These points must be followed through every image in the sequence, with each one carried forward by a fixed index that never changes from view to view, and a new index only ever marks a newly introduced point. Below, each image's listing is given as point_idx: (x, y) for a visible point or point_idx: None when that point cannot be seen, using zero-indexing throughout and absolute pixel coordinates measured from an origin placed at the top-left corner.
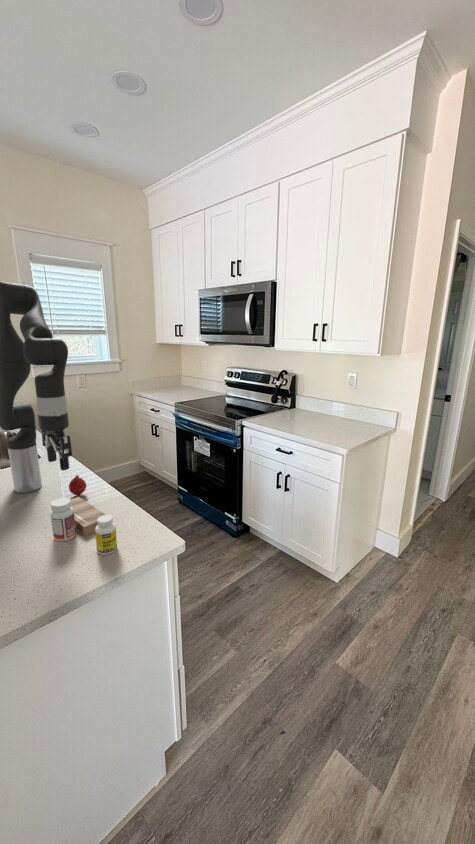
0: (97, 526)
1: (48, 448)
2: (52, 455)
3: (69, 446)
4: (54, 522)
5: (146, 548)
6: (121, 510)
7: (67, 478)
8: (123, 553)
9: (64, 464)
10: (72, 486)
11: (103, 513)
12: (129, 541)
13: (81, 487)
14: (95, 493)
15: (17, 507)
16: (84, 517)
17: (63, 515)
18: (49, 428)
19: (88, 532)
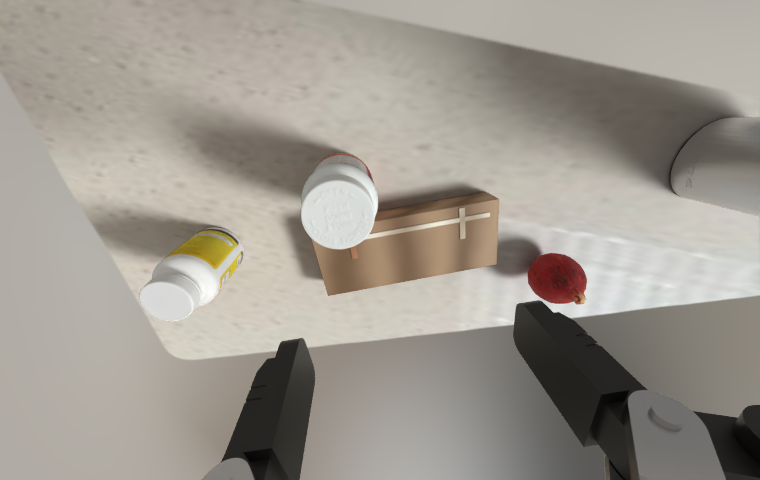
0: (185, 268)
1: (626, 429)
2: (547, 364)
3: None
4: (320, 166)
5: None
6: (382, 319)
7: (657, 263)
8: None
9: (248, 405)
10: (553, 268)
11: (353, 290)
12: (231, 294)
13: (533, 285)
14: (511, 296)
15: (613, 101)
16: (363, 247)
17: (302, 201)
18: None
19: None
